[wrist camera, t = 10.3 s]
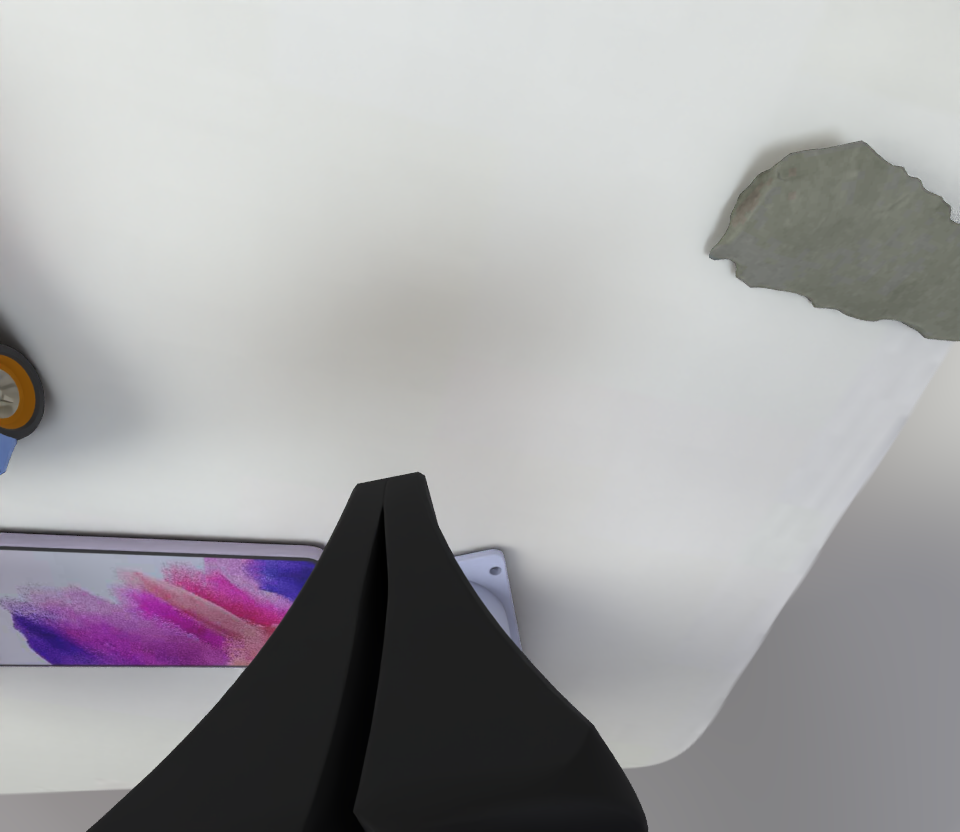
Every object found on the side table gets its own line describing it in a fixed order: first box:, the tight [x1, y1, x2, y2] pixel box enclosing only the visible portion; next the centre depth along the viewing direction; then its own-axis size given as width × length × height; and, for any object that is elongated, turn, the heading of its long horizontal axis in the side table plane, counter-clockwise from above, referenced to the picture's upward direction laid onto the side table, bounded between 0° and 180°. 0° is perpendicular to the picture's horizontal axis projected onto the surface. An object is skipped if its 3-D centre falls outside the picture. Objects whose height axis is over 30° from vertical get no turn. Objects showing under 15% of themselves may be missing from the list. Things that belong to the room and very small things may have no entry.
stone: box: [709, 141, 960, 341], centre depth 20 cm, size 13×2×5 cm
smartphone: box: [0, 533, 323, 668], centre depth 25 cm, size 7×1×15 cm
